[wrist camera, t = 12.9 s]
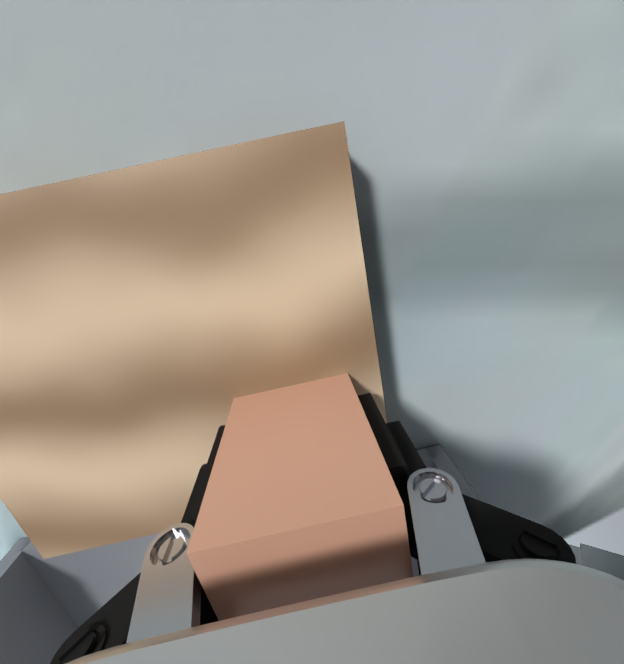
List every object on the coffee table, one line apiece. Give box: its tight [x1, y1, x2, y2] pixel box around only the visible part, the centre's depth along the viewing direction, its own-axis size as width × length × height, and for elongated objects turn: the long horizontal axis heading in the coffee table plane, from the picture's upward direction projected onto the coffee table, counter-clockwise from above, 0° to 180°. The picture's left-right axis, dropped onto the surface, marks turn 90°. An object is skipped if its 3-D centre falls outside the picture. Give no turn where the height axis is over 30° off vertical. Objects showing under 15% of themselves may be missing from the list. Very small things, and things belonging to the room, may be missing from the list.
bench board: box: [0, 121, 387, 559], centre depth 12 cm, size 14×16×2 cm
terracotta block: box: [186, 373, 413, 621], centre depth 10 cm, size 4×4×6 cm
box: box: [0, 445, 480, 664], centre depth 16 cm, size 11×22×4 cm, turn 102°
